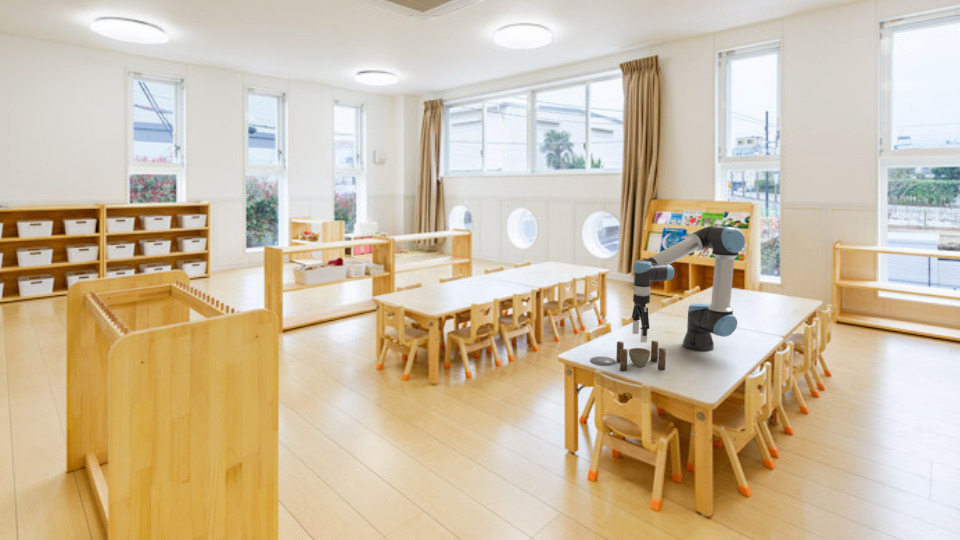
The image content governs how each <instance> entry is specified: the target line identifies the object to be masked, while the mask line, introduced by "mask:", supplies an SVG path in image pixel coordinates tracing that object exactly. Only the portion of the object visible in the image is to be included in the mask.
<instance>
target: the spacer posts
mask: <svg viewBox="0 0 960 540" xmlns="http://www.w3.org/2000/svg"><path fill="white" fill-rule="evenodd" d="M624 343H625V342H624V341H616V360H615V361H616V362H615V363H618V364H619V370H620V372H621V371H622V372H627V371H628V355H629V349H627V348H624V346H625V345H624ZM666 355H667V349H666V348H665V347H659V341H658V340H651V347H650V362H651V361H652V362H651V363H657V370H658V369H659V370H658V371H662V370H663V371H665V370H666V362H667V361H666V357H667V356H666ZM657 361H658V362H657Z"/></svg>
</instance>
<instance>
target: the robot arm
mask: <svg viewBox="0 0 960 540" xmlns="http://www.w3.org/2000/svg"><path fill="white" fill-rule="evenodd" d="M745 245H746V238H745V235H744V233H743V232H742V231H741V230H740V229H739V228H736V227H732V226H720V225H708V226H706V227H703V228H701V229H698V230H696V231H694V232H692V233H690V234H689V235H688V237H686V238H685V239H683V240H681V241H679V242H676V243H675V244H673V245H671V246H670V247H668V248H666V249H664V250H662V251H660V252H657V253H656V254H654V255H653V256H649V257H648V258H647V259H637V260H635V262H634V263H633V265H632V269H633V270H632V271H633V273H634V274H633V276H634V277H633V278H634V279H633V280H634V281H633V287H632V290H633V296H632V302H633V303H634V305H633V308H632V315H631V318H632V335H639V331H640V343H647V342H648V330H650V319H649V308H648V307H647V305H648V304H650V302H651V301H650V300H651V285H652V282H663V281H665V282H667V281H670V280H673V279H674V277H675V268H674V267H673V265H671V264H672V263H674V262H677V261H679V260H680V259H682V258H684V257H686V256H688V255H690V254H692V253H694V252H701V251H702V250H705V249H706V250H707V249H711V250H712V252H711V254H712V256H713V257H714V267H713V268H714V269H713V279H712V292H711V302H710V303H692V304H690V305H689V306H688V309H687V324H686V325H687V326H686V328H687V329H686V333H685V336H684V338H683V341H682V346H683V347H684V348H686V349H689V350H693V351H699V352H700V351H701V352H702V351H703V352H704V351H706V352H707V351H712V350H713V349H714V348H715V343H714V340H713V336H712V334H713V335H715V336H719V337H723V338H725V337H729V336H731V335H732V334H733V333H735V331H736V329H737V326H738V320H737V318H736V316H735V315H734V309H733V308H732V306H731V302H732V300H731V299H732V291H733V290H732V289H733V288H732V287H733V277H734V265H735V259H736V258H737V257H738V256H739V253H740V252H741V251H742V250H743V249H744V247H745ZM640 323H641V327H640ZM639 328H640V329H639Z"/></svg>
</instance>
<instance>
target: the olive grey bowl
mask: <svg viewBox="0 0 960 540" xmlns="http://www.w3.org/2000/svg"><path fill="white" fill-rule="evenodd" d="M628 355H629V359H630V361H631V363H632V365H633V366H634V367H635V368H636V367H637V368H644V367H645V366H646V365H647V364H648V362H649V360H650V358H651V350H649V349H646V348H643V347H633V348H630V349H628Z"/></svg>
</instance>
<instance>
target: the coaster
mask: <svg viewBox="0 0 960 540" xmlns="http://www.w3.org/2000/svg"><path fill="white" fill-rule="evenodd" d="M590 362H591V363H592V364H593V363H594V365H596V364H597V366H603V367H605V366H607V367H609V366H614V365H615V364H616V363H617V362H616V360H615V359H614V358H612V357H608V356H594V357H591V358H590Z"/></svg>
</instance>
